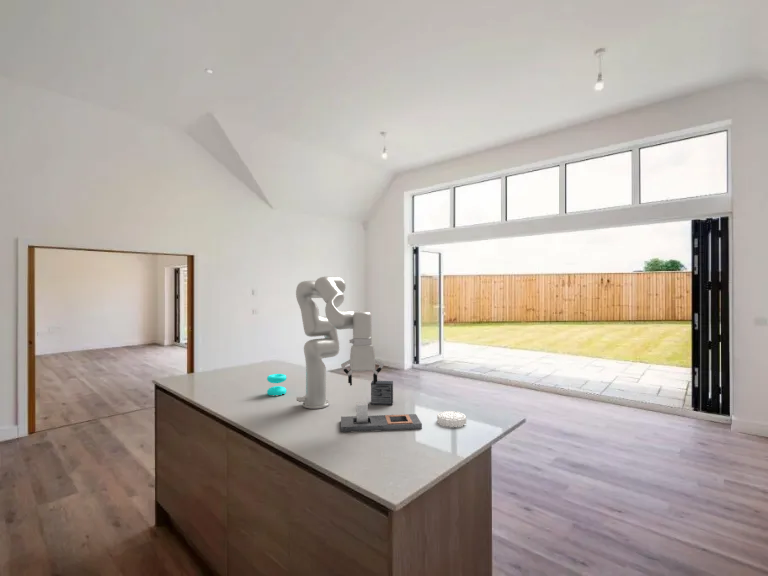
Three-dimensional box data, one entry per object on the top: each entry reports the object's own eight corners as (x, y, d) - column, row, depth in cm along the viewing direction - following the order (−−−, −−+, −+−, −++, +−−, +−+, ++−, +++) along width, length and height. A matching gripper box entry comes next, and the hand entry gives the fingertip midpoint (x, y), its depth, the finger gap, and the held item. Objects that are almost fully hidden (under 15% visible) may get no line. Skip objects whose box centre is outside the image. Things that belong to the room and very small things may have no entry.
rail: (340, 432, 147) (340, 426, 147) (341, 421, 159) (341, 416, 159) (421, 428, 150) (421, 423, 150) (415, 418, 162) (415, 413, 162)
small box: (393, 401, 188) (393, 380, 188) (392, 405, 181) (392, 383, 181) (372, 400, 189) (372, 379, 189) (370, 404, 182) (370, 383, 182)
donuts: (290, 373, 204) (279, 378, 195) (290, 392, 204) (279, 397, 195) (274, 372, 207) (263, 376, 198) (274, 391, 207) (263, 395, 197)
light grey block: (356, 428, 151) (356, 405, 151) (356, 424, 156) (356, 402, 156) (367, 427, 152) (367, 405, 152) (367, 423, 156) (367, 401, 156)
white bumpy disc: (447, 429, 150) (447, 420, 150) (431, 420, 161) (431, 412, 161) (472, 425, 155) (472, 416, 155) (455, 416, 166) (455, 408, 166)
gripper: (340, 343, 149) (341, 387, 149) (384, 342, 151) (384, 385, 151) (340, 341, 157) (341, 383, 156) (382, 340, 159) (382, 381, 158)
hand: (362, 384), depth 154 cm, fingers open, 9 cm apart
